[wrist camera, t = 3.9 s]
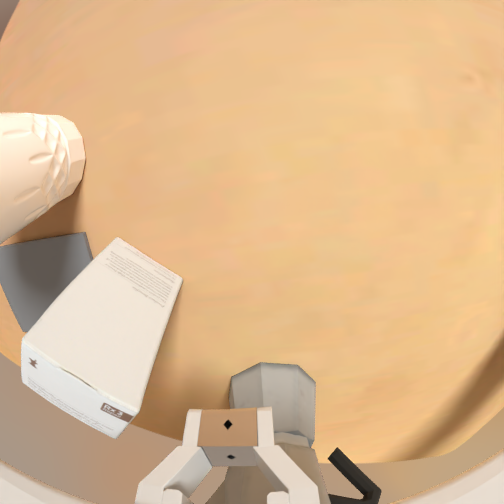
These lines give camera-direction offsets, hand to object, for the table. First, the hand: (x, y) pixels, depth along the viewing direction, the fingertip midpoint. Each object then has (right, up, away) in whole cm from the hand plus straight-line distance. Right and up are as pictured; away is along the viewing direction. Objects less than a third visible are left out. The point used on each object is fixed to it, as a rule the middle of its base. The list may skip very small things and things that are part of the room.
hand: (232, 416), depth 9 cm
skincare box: (-8, +4, +12) cm, 14 cm away
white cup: (-14, +13, +8) cm, 21 cm away
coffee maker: (+4, -8, +17) cm, 19 cm away
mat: (-18, +2, +12) cm, 22 cm away
